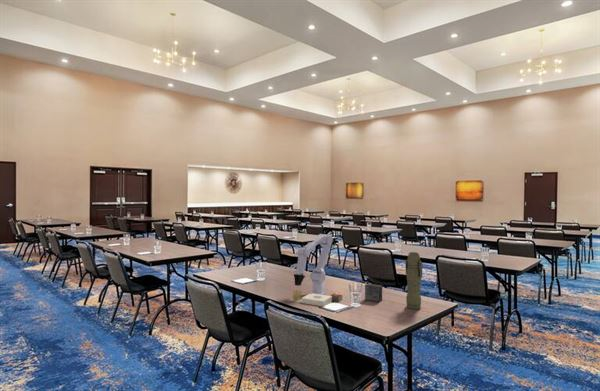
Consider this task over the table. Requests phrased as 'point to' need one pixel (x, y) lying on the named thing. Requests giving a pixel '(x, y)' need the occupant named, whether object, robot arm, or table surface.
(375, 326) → the table surface
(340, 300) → the button console
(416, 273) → the thermos
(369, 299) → the small box
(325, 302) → the block
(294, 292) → the billet
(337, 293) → the button cap
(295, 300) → the billet mat
